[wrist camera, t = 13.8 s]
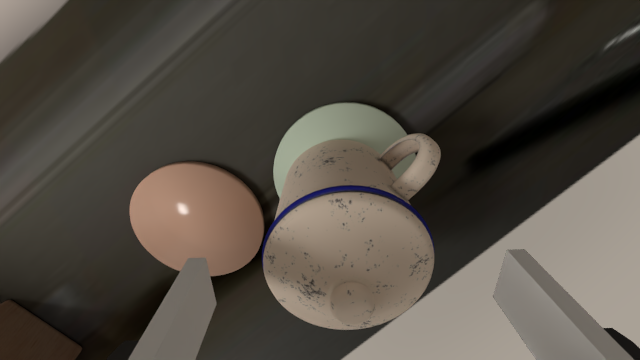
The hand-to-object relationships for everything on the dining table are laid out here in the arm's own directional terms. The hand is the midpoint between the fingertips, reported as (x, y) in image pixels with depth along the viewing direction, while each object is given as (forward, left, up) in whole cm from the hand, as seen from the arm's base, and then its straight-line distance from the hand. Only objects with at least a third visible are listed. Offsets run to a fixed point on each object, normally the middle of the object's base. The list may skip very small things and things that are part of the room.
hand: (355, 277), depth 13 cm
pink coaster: (-12, -4, -12) cm, 17 cm away
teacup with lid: (+1, 0, -11) cm, 11 cm away
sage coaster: (0, 0, -12) cm, 12 cm away
